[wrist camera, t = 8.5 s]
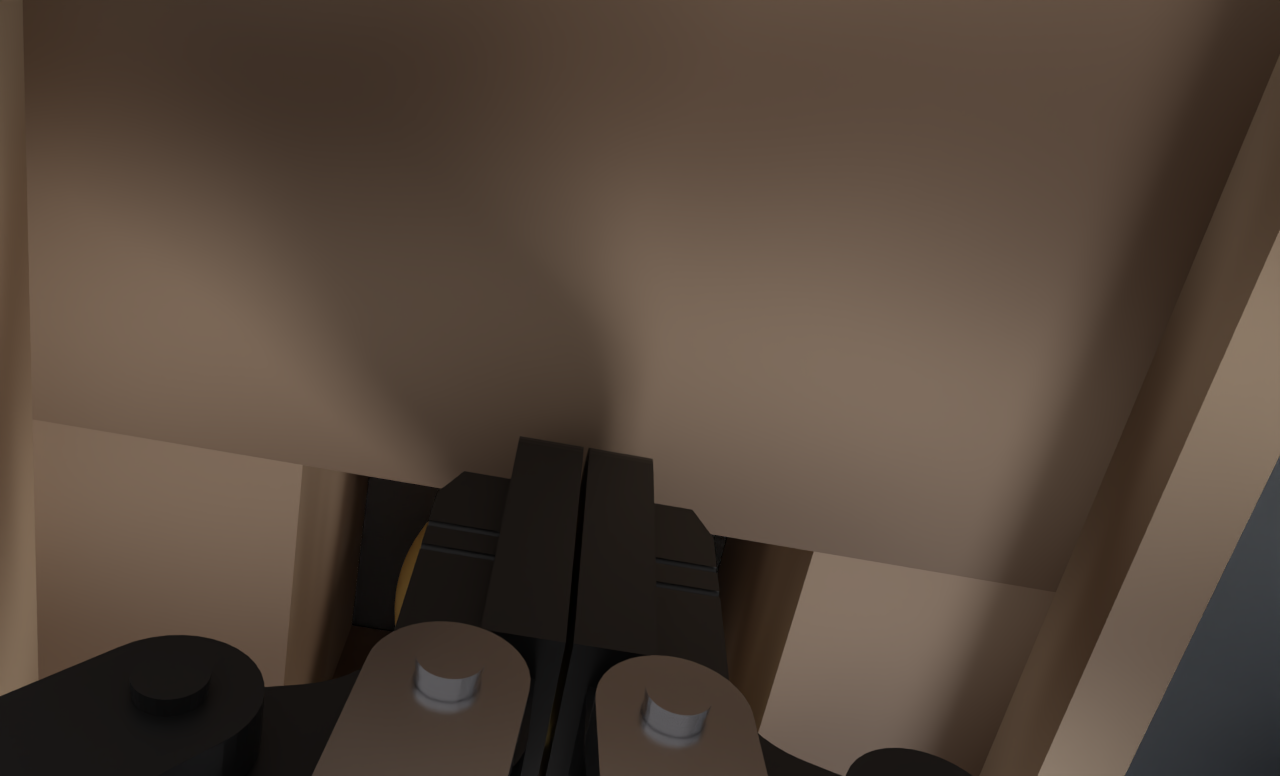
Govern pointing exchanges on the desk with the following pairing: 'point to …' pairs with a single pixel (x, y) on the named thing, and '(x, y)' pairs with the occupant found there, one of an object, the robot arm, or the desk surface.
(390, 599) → the desk surface
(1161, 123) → the wooden box
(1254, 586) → the desk surface
